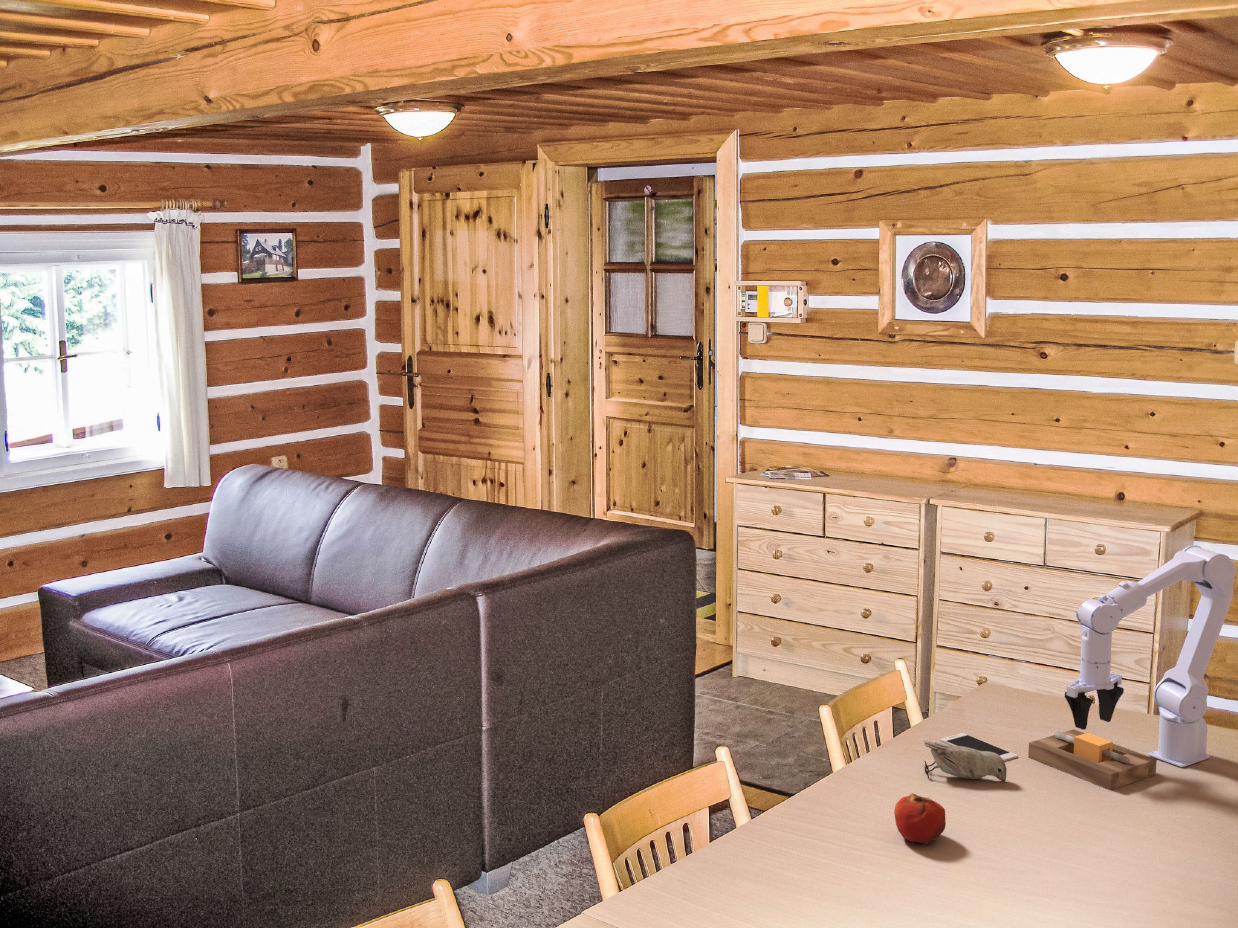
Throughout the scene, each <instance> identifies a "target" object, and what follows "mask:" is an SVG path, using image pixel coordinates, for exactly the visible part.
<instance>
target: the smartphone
mask: <svg viewBox="0 0 1238 928" xmlns="http://www.w3.org/2000/svg"><path fill="white" fill-rule="evenodd" d="M940 743H942V744H945V745H949V746H962V747H968V748H972V749H976V750H979V751H988V752H993V753H996V754H998V755H999V756H1001V758H1002V759H1003V760H1004V762H1007V761H1010V760H1014V759H1018V757H1019V755H1018V754H1016V753H1014V752H1011V751H1009V750H1007V749H1004V748H1001V747H1000V746H997V745H994V744H992V743H989V742H987V741H984V740H982V739H979V738H978V737H977V738H976V737H975V736H972V735H970V734H967V733H966V732H960V733H958V734H954V735H950V736H946V737H943V738H940Z"/></svg>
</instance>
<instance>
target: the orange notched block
mask: <svg viewBox="0 0 1238 928" xmlns="http://www.w3.org/2000/svg"><path fill="white" fill-rule="evenodd" d="M1084 733H1085V732H1084ZM1113 744H1114V741H1112V740H1111V739H1110V740H1109V739H1107V738H1103V737H1101V736H1098V735H1097V734H1093V733H1090V732H1086V733H1085V734H1082V735H1079V736H1075V737H1074V755H1077V756H1080V757H1082V758H1085V759H1087V760H1090V761H1093V762H1095V763H1101V762H1104V761H1107V760H1110V759H1111V758H1108V757H1106V756H1103V755H1102V750H1106V749H1107V750H1110V751H1112V749H1113Z"/></svg>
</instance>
